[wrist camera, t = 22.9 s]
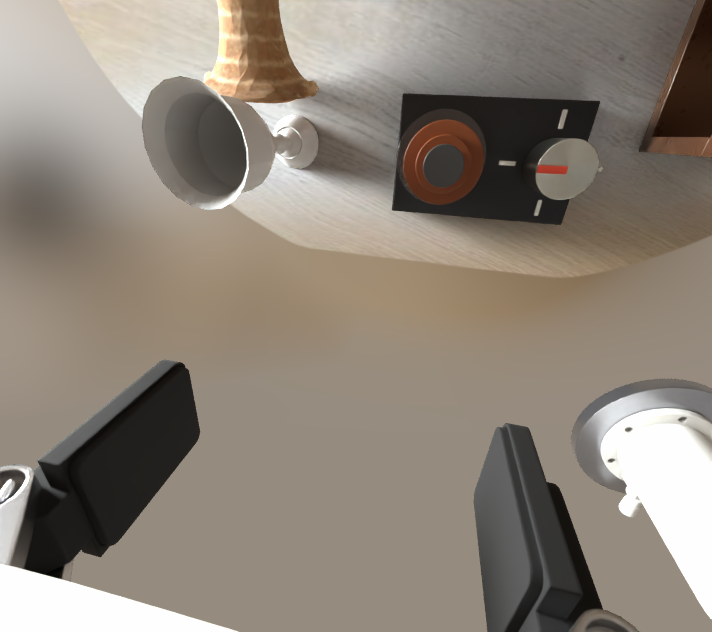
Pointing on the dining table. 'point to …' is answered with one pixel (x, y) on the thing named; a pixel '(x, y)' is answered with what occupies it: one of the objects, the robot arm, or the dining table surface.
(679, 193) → the dining table surface
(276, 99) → the jug
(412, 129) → the burner
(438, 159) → the bottle
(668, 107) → the shelf
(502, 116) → the stove
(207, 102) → the chalice
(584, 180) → the stove knob
